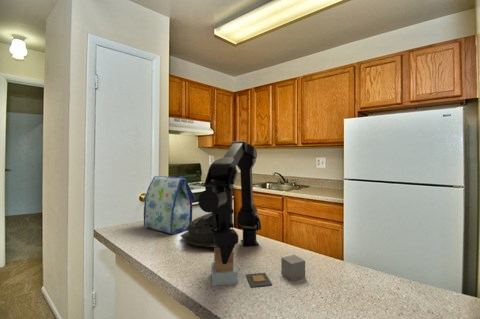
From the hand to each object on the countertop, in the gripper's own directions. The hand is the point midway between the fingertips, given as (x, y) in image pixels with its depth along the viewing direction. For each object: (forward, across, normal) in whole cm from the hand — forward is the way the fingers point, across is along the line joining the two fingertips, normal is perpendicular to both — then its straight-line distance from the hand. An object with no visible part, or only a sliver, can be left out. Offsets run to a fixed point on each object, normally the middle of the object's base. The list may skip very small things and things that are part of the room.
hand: (222, 258), depth 72 cm
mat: (+6, +3, +10) cm, 12 cm away
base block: (+6, 0, 0) cm, 6 cm away
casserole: (+6, -32, -3) cm, 33 cm away
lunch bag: (+6, -56, -21) cm, 60 cm away
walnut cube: (+3, 0, 0) cm, 3 cm away
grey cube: (+6, +2, +21) cm, 22 cm away
